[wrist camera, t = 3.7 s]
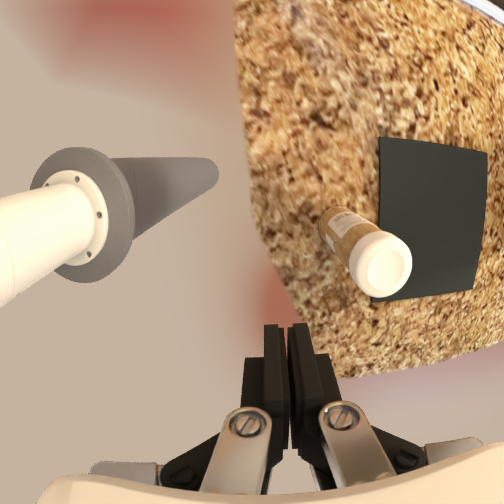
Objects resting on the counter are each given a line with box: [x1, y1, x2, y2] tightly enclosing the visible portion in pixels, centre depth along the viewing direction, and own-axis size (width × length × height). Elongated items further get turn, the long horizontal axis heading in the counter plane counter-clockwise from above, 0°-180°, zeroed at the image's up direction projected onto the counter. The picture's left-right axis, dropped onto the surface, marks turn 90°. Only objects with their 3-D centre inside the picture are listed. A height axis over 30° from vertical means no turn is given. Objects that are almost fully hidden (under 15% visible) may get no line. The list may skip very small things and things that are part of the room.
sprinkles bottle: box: [319, 206, 412, 298], centre depth 24 cm, size 5×5×13 cm
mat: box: [371, 137, 487, 303], centre depth 30 cm, size 18×20×1 cm
